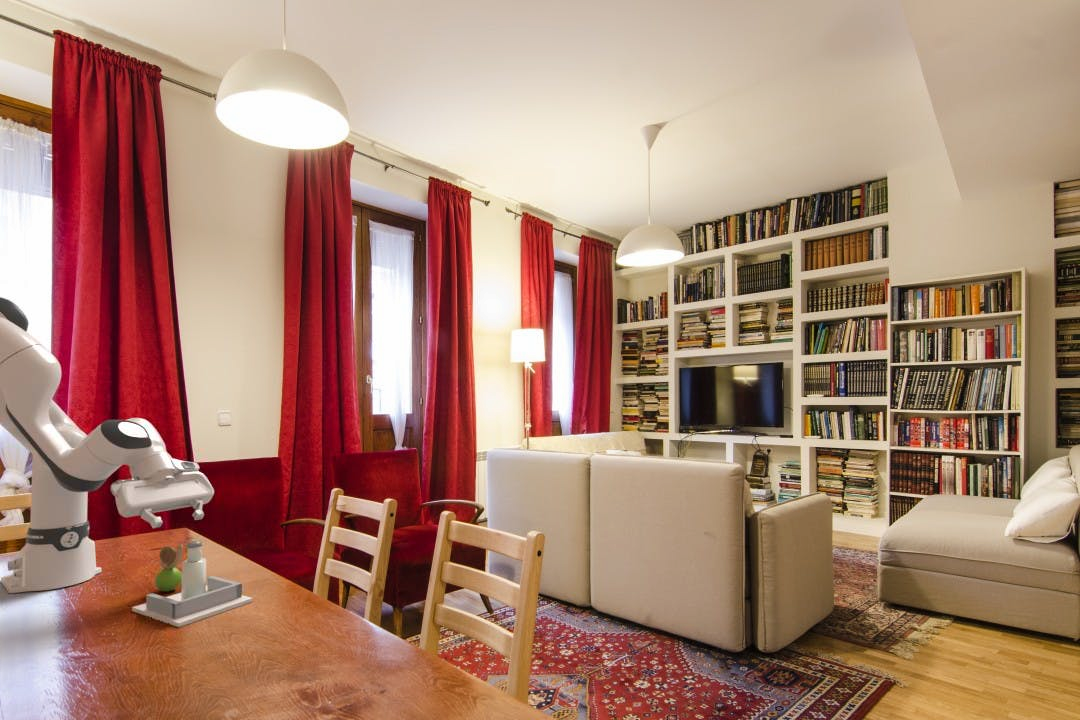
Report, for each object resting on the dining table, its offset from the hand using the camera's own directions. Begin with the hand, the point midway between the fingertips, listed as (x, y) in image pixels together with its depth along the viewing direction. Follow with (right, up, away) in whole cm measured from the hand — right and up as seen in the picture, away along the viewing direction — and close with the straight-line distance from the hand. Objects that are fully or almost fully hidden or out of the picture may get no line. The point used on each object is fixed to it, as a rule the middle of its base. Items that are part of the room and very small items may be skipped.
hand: (179, 521), depth 135 cm
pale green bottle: (+6, -16, -6) cm, 18 cm away
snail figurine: (-5, -18, +4) cm, 19 cm away
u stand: (+6, -17, -6) cm, 19 cm away
